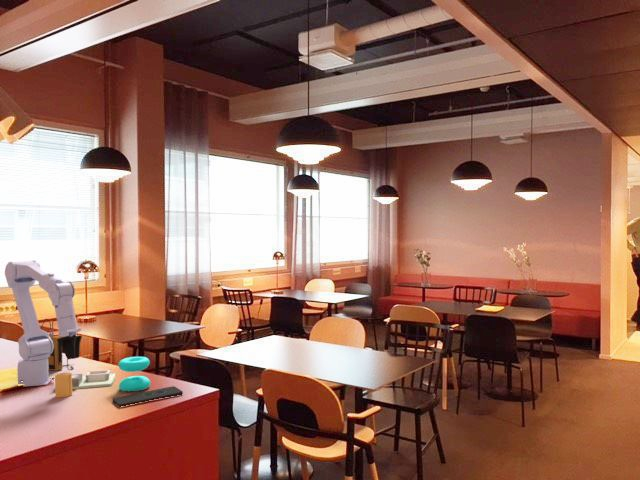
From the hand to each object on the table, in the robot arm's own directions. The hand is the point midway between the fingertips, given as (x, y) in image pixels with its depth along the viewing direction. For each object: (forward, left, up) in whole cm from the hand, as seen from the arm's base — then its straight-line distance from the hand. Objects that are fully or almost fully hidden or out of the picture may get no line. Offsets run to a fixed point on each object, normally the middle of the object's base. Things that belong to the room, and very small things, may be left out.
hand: (73, 358), depth 179 cm
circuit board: (+2, +12, -11) cm, 17 cm away
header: (+6, +13, -11) cm, 18 cm away
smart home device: (+24, -14, -12) cm, 30 cm away
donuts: (+19, -1, -12) cm, 22 cm away
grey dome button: (-3, +8, -11) cm, 15 cm away
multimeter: (-12, +39, -12) cm, 42 cm away
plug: (-3, -2, -11) cm, 12 cm away
